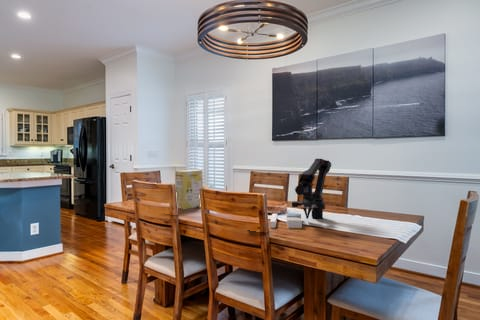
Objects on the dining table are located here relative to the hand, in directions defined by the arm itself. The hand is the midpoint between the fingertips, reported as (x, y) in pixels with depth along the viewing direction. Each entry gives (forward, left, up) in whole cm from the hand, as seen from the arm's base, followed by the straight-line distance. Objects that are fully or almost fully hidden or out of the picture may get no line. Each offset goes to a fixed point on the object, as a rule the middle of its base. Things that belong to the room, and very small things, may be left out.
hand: (307, 218), depth 192 cm
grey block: (+8, +12, -2) cm, 15 cm away
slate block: (+8, 0, -2) cm, 8 cm away
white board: (+20, +6, -2) cm, 21 cm away
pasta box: (+88, -37, -2) cm, 95 cm away
